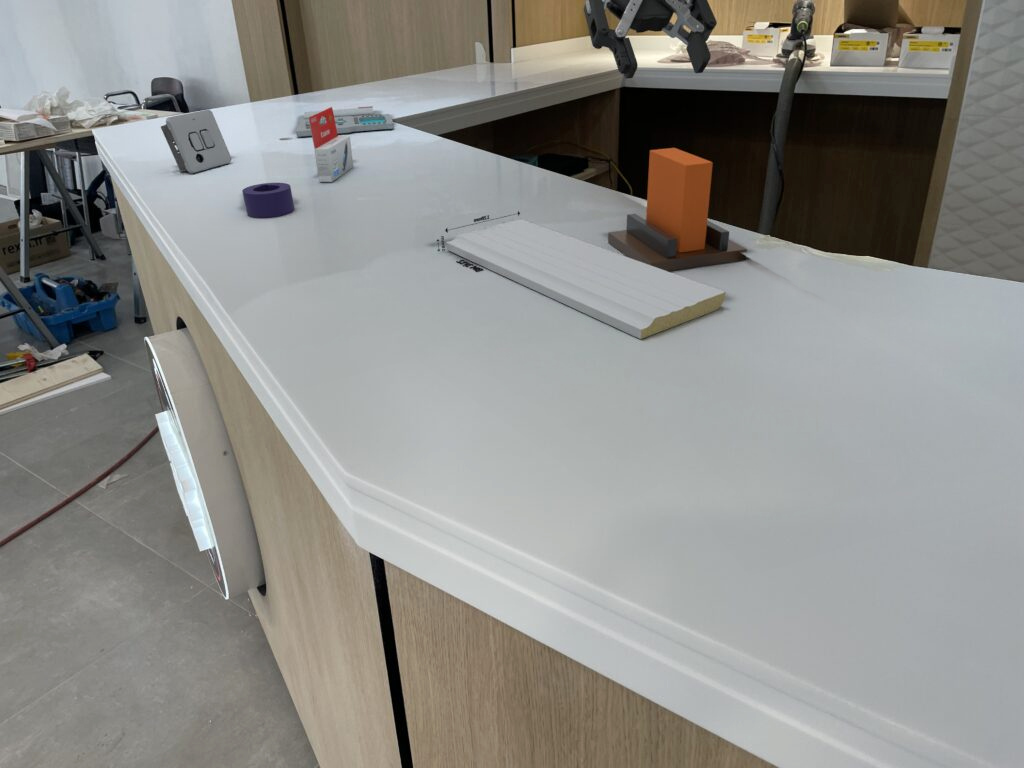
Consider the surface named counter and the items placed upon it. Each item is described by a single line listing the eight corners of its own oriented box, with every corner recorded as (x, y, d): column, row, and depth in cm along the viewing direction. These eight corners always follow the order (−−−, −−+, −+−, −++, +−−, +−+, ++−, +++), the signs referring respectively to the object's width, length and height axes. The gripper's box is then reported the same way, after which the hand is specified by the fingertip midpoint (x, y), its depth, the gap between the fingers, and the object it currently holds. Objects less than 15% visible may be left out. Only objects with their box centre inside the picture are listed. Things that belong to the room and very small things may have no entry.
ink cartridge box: (354, 166, 124) (346, 105, 119) (333, 182, 114) (323, 117, 110) (340, 167, 124) (331, 106, 119) (317, 183, 115) (307, 117, 110)
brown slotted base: (694, 231, 86) (696, 204, 85) (745, 260, 77) (749, 230, 75) (607, 242, 84) (608, 215, 82) (650, 274, 74) (652, 243, 73)
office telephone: (299, 109, 168) (386, 103, 172) (301, 121, 169) (387, 115, 173) (294, 124, 148) (393, 117, 151) (296, 137, 149) (394, 130, 153)
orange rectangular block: (669, 228, 84) (674, 147, 79) (704, 249, 77) (713, 162, 72) (645, 231, 83) (649, 150, 79) (679, 253, 76) (685, 165, 72)
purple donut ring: (298, 213, 99) (294, 189, 98) (250, 220, 97) (245, 196, 96) (282, 194, 109) (278, 172, 108) (238, 200, 107) (233, 178, 105)
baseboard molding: (627, 345, 60) (723, 307, 66) (629, 312, 59) (727, 277, 65) (435, 253, 83) (520, 231, 89) (433, 227, 81) (519, 207, 87)
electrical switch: (192, 174, 123) (174, 116, 119) (171, 175, 125) (153, 118, 121) (233, 163, 130) (218, 108, 126) (213, 164, 133) (198, 110, 128)
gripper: (578, -74, 79) (618, 50, 75) (696, -77, 82) (741, 41, 78) (561, -17, 86) (597, 98, 82) (671, -22, 89) (711, 89, 85)
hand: (667, 70), depth 80 cm, fingers open, 8 cm apart
